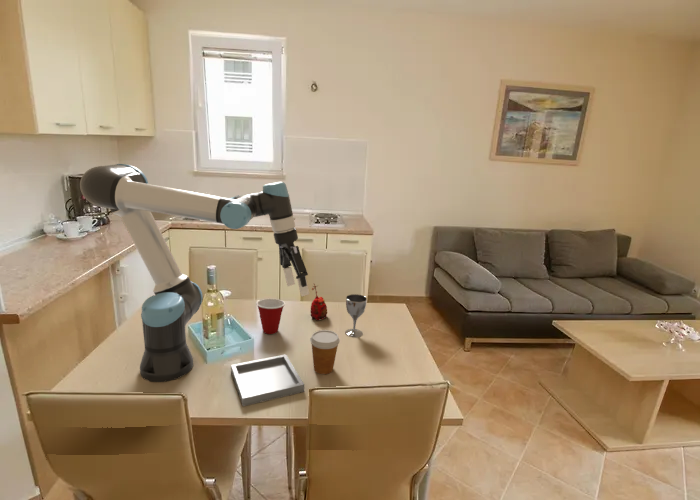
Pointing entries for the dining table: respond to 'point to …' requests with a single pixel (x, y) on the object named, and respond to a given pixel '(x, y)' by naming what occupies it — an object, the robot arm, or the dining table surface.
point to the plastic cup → (270, 314)
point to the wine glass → (355, 312)
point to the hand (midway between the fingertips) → (297, 289)
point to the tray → (266, 379)
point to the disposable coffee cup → (324, 350)
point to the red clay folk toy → (318, 307)
